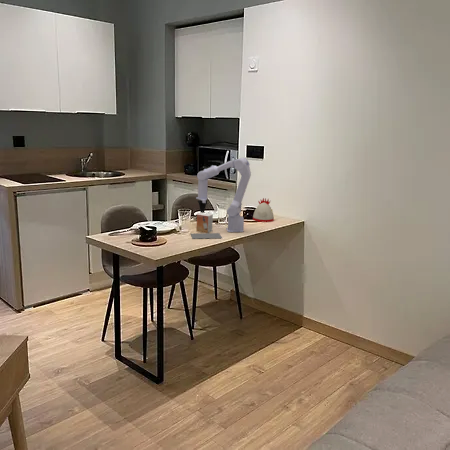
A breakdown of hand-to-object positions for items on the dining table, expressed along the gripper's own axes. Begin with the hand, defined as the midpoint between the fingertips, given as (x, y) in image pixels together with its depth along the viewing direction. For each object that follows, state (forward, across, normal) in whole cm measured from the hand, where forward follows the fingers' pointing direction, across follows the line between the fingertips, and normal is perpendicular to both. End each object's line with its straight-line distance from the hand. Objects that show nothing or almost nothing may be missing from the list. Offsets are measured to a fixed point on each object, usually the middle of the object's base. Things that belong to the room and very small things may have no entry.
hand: (202, 212), depth 293 cm
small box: (+10, +11, 0) cm, 15 cm away
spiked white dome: (+10, -18, +44) cm, 48 cm away
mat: (+9, +22, 0) cm, 24 cm away
